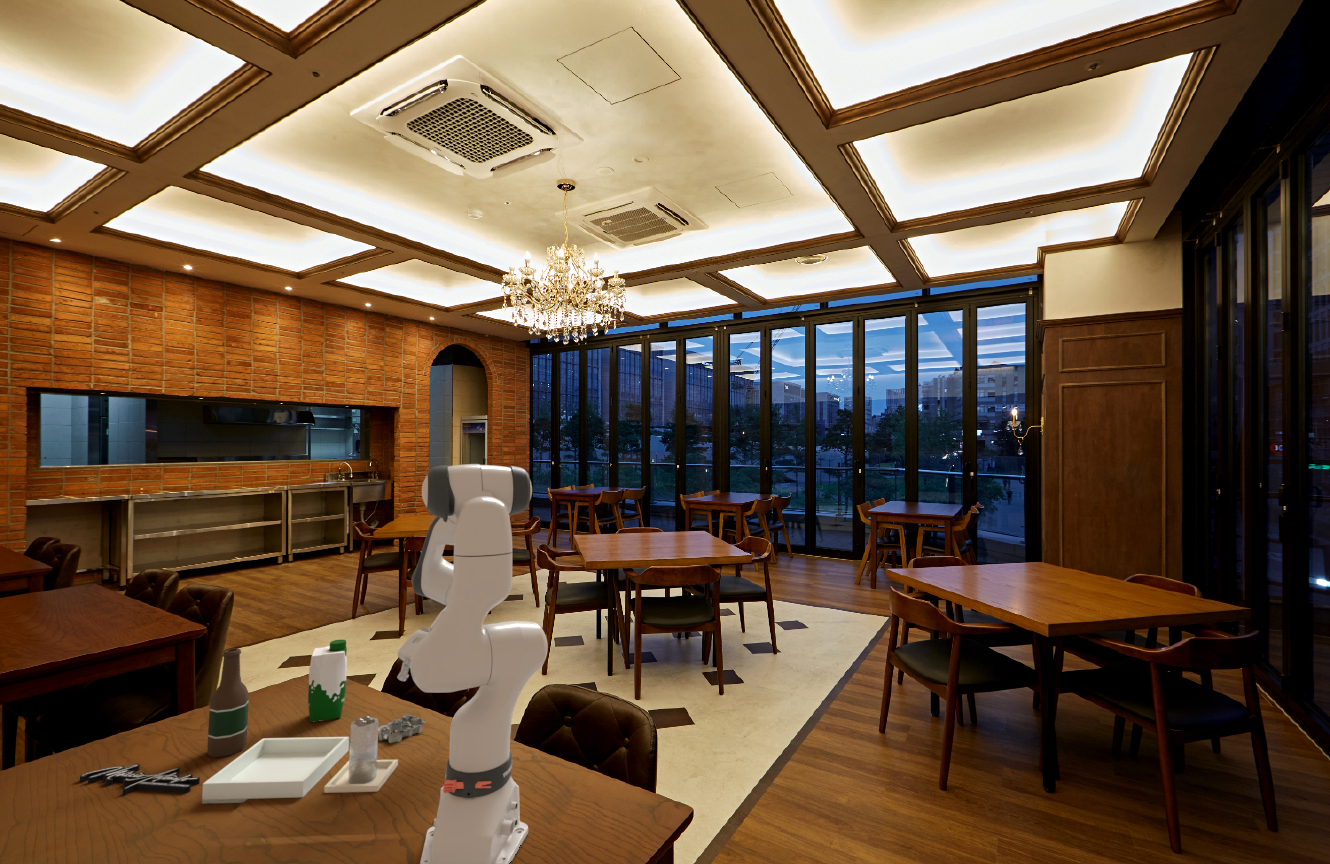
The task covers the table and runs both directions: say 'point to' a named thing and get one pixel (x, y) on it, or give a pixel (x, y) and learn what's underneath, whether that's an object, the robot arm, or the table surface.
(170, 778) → the nameplate
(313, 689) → the milk carton
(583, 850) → the table surface
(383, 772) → the tray
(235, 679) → the beer bottle
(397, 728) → the egg carton
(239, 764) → the bin
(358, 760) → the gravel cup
